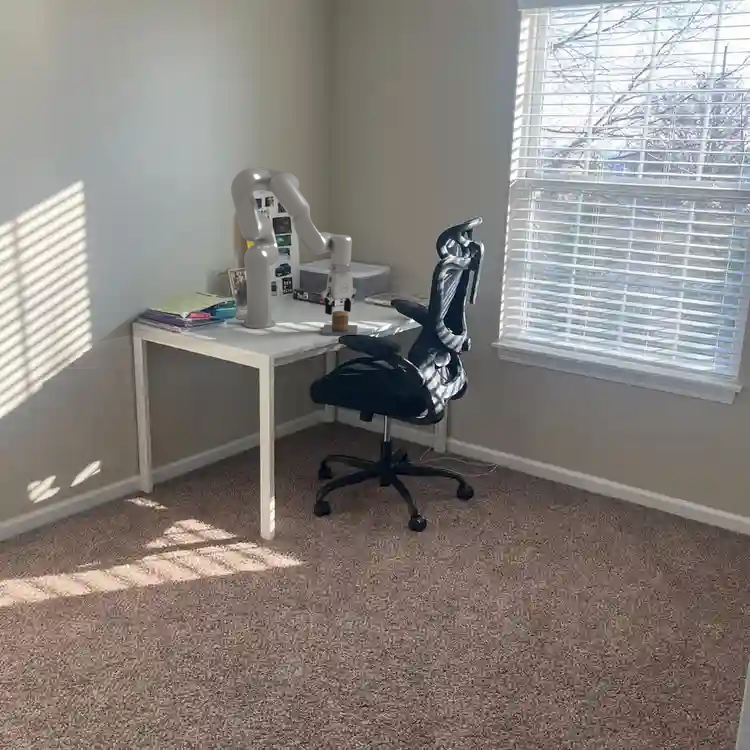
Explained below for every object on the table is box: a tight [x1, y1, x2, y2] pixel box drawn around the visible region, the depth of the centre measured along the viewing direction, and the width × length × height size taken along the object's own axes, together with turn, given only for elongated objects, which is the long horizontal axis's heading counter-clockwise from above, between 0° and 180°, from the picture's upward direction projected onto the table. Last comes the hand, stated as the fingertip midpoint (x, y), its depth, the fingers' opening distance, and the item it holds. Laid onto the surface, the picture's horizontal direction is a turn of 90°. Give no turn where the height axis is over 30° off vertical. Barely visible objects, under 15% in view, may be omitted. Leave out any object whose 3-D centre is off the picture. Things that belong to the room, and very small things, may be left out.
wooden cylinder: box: [331, 310, 349, 330], centre depth 315 cm, size 6×6×6 cm
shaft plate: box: [321, 323, 358, 337], centre depth 316 cm, size 13×13×6 cm
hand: (337, 312), depth 315 cm, fingers open, 9 cm apart
